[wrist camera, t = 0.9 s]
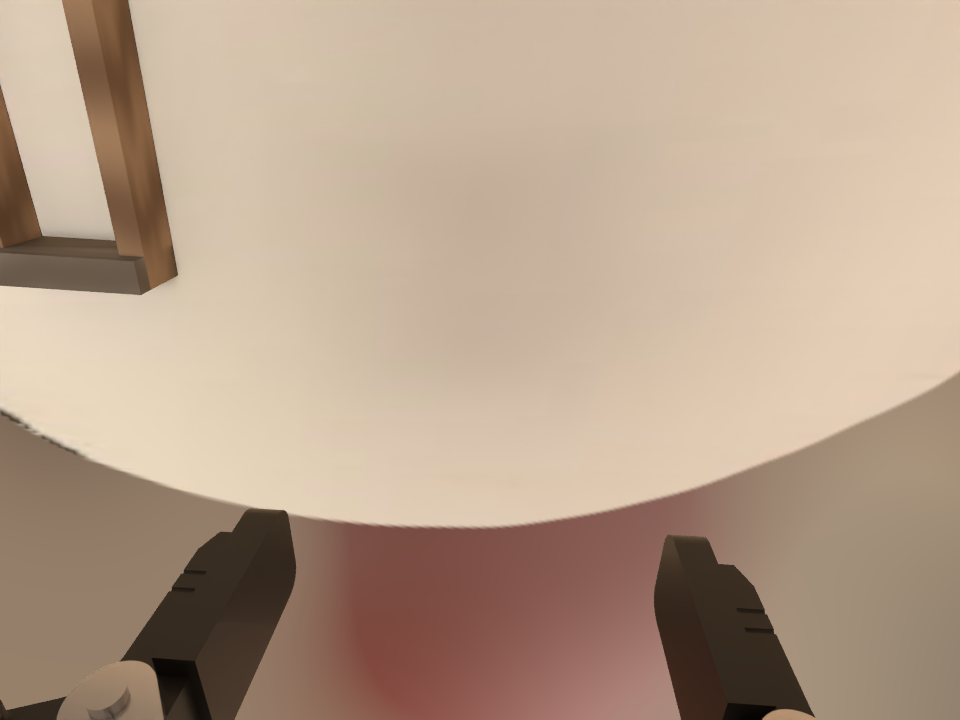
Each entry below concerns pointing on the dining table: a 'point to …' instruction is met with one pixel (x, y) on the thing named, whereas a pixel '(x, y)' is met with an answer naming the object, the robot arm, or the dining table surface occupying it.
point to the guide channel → (123, 165)
